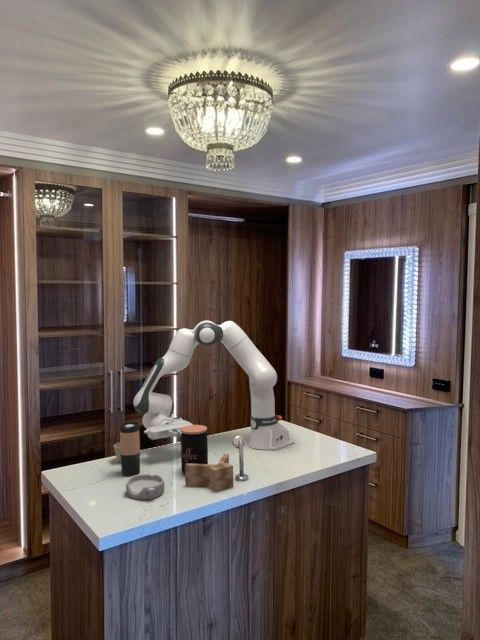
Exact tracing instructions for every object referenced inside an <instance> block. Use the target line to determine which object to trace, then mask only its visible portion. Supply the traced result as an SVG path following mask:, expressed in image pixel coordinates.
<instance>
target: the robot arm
mask: <svg viewBox="0 0 480 640" xmlns="http://www.w3.org/2000/svg"><path fill="white" fill-rule="evenodd" d="M218 343H221V344H223V346H224V347H225V348H226V349H227V351H228V352H229V353H230V355H231V356H232V357H233V358H234V359H235V361H236V362H237V363H238V365H239V366H240V367H241V369H242V370H243V371H244V372H245V373H246V374H247V376H248V381H249V392H250V393H249V394H250V408H251V410H250V412H251V414H250V419H249V420H250V422H249V423H250V433H249V434H250V436H249V439H248V444H247V445H248V447H249V448H252V449H254V450H255V449H256V450H265V451H266V450H270V451H271V450H272V451H277V450H280V449H282V448H285V447H288V446H290V445H292V444H295V440H294V439H293V438H291V437H290V432H289V429H288V428H286V426H284V425H283V424H281V423H280V422H279V421H281V420H282V418H283V416H282V415H279V414H278V415H277V414H276V413H275V410H276V409H275V408H276V407H275V400H276V399H275V394H274V386H276V384H277V381H278V374H277V371H276V370H275V368H274V367H273V366H272V364H270V362H269V361H268V359H266V357H265V356H264V355H263V354H262V352H261V351H260V350H259V349H258V348H257V347H256V346H255V344H254V343H253V341H252V340H251V339H250V338H249V336H248V335H247V333H245V331H244V330H243V329H242V328H241V327H240V326H239V325H238V324H237V323H235V321H232V320H227V321H224V322H222V323H221V324H216V323H215V322H214V321H212V320H209V319H204V320H201V321H199V322H198V323H197V324H196V325H194V326H193V327H192V328H191V329H189V328H185V327H184V328H180V329H178V330H177V331H176V332H175V334H174V336H173V338H172V340H171V342H170V345H169V347H168V350H167V351H166V353H165V354H164V356H162V357H161V358H158V359H157V360H156V362H155V363H154V365H152V367H151V369H150V371H149V373H148V375H147V376H146V378H145V380H144V382H143V383H142V385H141V387H140V389H139V390H138V391H137V392H136V394H135V395H134V397H133V401H132V405H133V408H134V409H135V410H136V412H137V413H139V414H144V415H142V421H141V422H142V424H143V426H144V428H145V430H143V434H146V435H147V437H148V438H149V439H150V440H152V441H153V440H158V439H159V440H160V439H166V438H171V437H174V438H179V437H181V434H182V432H181V428H182V427H184V426H188V425H194V424H193V423H192V422H190V421H187V420H185V419H183V418H182V417H172V415H173V413H174V409H175V403H174V400H173V398H172V397H171V395H169V394H163V393H158V392H154V389H155V387H156V385H157V384H158V381H159V380H160V378H161V377H162V376H164V375H167V374H171V373H176V372H180V371H183V370H184V369H185V368H187V367H188V366H189V364H190V362H191V359H192V357H193V354H194V350H196V347H197V346H198V345H201V346H204V347H210V346H213V345H215V344H218ZM278 420H279V421H278Z"/></svg>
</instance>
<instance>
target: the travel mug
mask: <svg viewBox="0 0 480 640" xmlns="http://www.w3.org/2000/svg"><path fill="white" fill-rule="evenodd" d="M119 435H120V436H119V438H120V439H119V441H120V442H119V443H120V451H121V462H120V465H121V466H120V467H121V475H122V477H129V478H130V477H132V476H135V475H140V473H141V443H140V441H141V440H140V423H139V422H137V421H128V422H122V423H120V424H119Z"/></svg>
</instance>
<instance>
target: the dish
mask: <svg viewBox="0 0 480 640" xmlns="http://www.w3.org/2000/svg"><path fill="white" fill-rule="evenodd" d="M125 488H126V493H127V494H128V496H129V497H130V498H132V499H135V500H136V499H137V500H152V499H154V498H157V497H159V496H161V495H162V494H164V491H165V479H164V477H162V475H160V474H157V473H156V474H151V473H142V474H140V473H139V474H138V475H135V476H131V477H129V478H127V480H126V482H125Z"/></svg>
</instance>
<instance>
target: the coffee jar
mask: <svg viewBox="0 0 480 640" xmlns="http://www.w3.org/2000/svg"><path fill="white" fill-rule="evenodd" d="M207 430H208V426H205V425H203V424H193V425H188V426H184V427H182V428H181V432H182V434H181V436H180V456H181V457H180V460H181V461H180V462H181V472H182V474H183V475H184V476H185V464H186V463H191V464H209V460H208V459H209V455H208V453H209V452H208V451H209V449H208V448H209V447H208V446H209V445H208V431H207Z"/></svg>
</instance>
